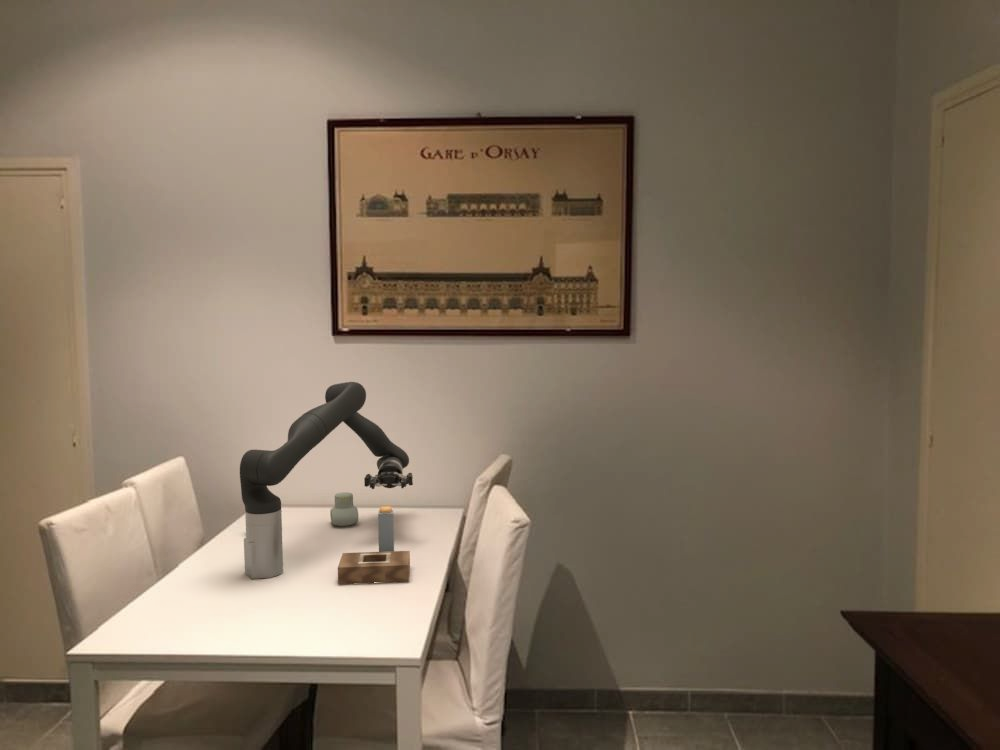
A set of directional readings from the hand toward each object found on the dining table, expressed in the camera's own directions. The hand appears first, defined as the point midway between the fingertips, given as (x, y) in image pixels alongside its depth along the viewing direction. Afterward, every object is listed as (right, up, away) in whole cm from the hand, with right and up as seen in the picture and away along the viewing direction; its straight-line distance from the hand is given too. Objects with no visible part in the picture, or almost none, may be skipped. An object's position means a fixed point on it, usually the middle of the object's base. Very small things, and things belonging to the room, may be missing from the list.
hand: (387, 485), depth 233 cm
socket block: (0, -21, -21) cm, 30 cm away
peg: (+1, -20, -9) cm, 22 cm away
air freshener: (-18, -17, +28) cm, 38 cm away
